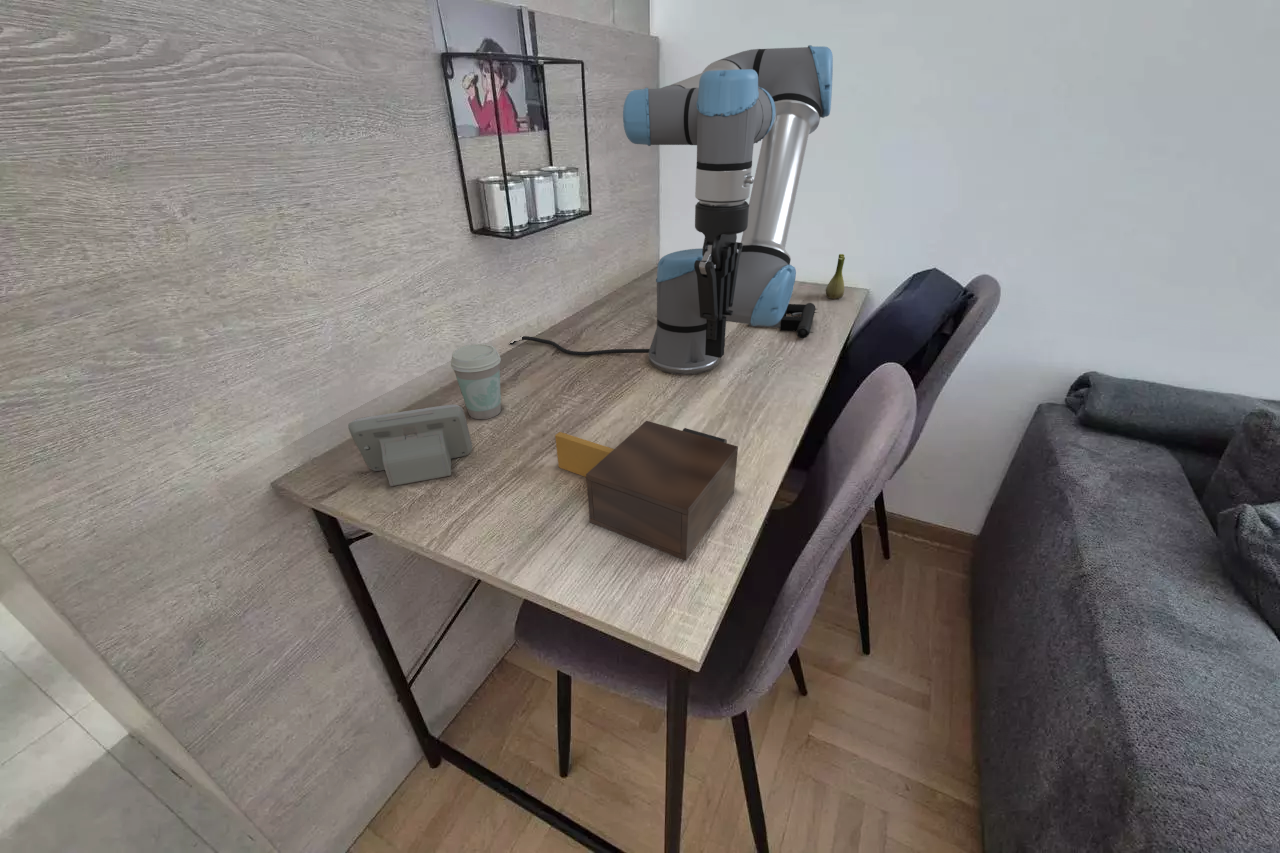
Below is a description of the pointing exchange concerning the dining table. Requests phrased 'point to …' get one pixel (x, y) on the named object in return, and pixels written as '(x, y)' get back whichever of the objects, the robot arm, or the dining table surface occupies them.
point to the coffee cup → (478, 379)
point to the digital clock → (413, 442)
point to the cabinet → (662, 487)
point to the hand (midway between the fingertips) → (714, 354)
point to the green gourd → (836, 281)
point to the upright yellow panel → (579, 453)
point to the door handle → (796, 319)
